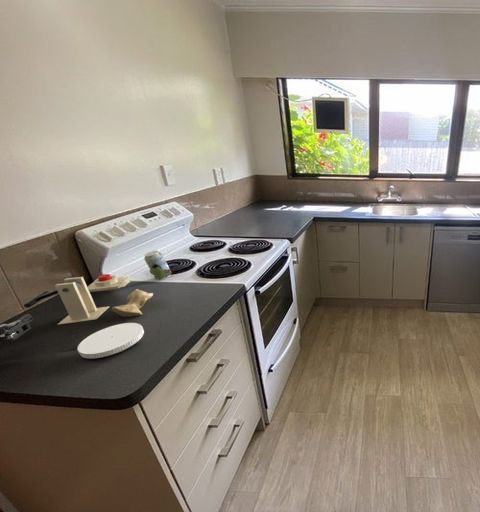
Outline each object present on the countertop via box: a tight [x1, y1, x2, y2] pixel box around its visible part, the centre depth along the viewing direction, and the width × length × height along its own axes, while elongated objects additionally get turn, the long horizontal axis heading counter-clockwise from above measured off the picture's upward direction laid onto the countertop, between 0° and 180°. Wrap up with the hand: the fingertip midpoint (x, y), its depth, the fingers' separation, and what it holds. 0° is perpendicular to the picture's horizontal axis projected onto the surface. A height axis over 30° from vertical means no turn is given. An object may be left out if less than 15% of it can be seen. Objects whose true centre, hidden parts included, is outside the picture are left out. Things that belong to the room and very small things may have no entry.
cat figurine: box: [111, 288, 154, 318], centre depth 98 cm, size 8×7×12 cm
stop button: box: [97, 273, 112, 282], centre depth 113 cm, size 4×4×2 cm
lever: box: [23, 280, 81, 309], centre depth 90 cm, size 12×8×2 cm, turn 108°
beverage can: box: [143, 250, 173, 281], centre depth 121 cm, size 6×7×12 cm
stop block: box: [87, 274, 131, 293], centre depth 114 cm, size 11×9×4 cm
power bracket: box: [54, 276, 110, 326], centre depth 93 cm, size 10×8×14 cm
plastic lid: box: [77, 322, 145, 359], centre depth 83 cm, size 14×14×2 cm
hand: (9, 319), depth 80 cm, fingers open, 8 cm apart
